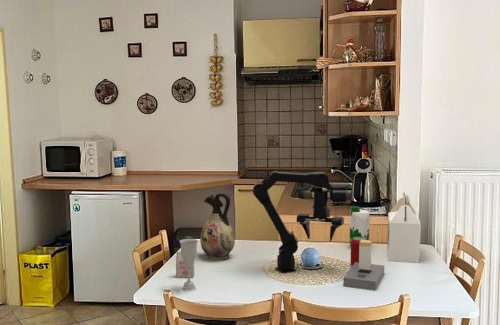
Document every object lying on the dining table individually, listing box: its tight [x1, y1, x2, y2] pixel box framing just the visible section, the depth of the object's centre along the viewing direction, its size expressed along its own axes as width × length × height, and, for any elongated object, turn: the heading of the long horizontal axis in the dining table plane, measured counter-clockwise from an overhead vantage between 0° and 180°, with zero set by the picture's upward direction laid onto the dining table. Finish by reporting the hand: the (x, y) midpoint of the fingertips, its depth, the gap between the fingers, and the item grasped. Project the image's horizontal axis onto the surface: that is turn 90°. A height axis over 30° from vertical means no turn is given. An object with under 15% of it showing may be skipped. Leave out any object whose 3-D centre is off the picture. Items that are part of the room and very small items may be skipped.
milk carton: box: [349, 205, 371, 247], centre depth 260 cm, size 9×9×20 cm
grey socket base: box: [342, 262, 385, 291], centre depth 213 cm, size 12×22×4 cm, turn 158°
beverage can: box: [350, 237, 366, 267], centre depth 232 cm, size 7×7×12 cm
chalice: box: [179, 238, 199, 292], centre depth 202 cm, size 7×7×18 cm
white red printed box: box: [175, 251, 195, 279], centre depth 216 cm, size 4×7×10 cm, turn 88°
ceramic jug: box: [199, 191, 236, 261], centre depth 242 cm, size 17×15×30 cm
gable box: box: [386, 192, 422, 264], centre depth 248 cm, size 22×13×28 cm, turn 167°
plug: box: [359, 239, 373, 270], centre depth 213 cm, size 4×4×11 cm
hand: (319, 240), depth 224 cm, fingers open, 9 cm apart
